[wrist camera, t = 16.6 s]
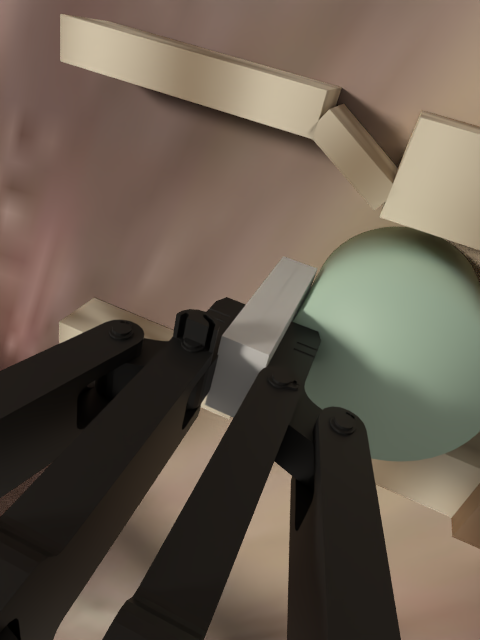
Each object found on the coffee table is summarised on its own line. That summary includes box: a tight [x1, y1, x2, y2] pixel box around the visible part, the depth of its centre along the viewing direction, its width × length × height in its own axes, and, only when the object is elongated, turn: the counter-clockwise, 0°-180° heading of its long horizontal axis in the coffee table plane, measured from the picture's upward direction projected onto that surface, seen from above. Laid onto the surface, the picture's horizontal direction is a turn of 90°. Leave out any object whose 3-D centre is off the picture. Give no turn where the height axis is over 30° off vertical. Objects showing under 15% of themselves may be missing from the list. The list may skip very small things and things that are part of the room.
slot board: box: [59, 14, 480, 549], centre depth 19 cm, size 23×15×4 cm, turn 76°
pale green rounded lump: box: [293, 227, 480, 461], centre depth 18 cm, size 7×7×6 cm
